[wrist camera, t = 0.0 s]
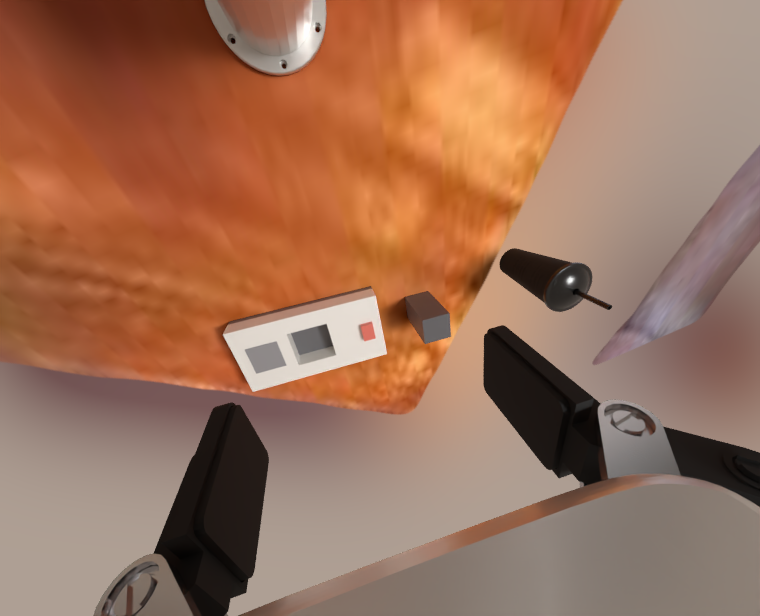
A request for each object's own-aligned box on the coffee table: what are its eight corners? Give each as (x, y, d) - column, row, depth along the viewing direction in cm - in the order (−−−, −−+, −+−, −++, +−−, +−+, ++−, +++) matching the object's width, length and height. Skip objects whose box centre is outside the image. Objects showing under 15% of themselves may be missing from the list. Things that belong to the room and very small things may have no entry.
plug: (404, 297, 52) (422, 320, 44) (428, 291, 52) (449, 313, 44) (407, 317, 54) (424, 343, 46) (430, 311, 54) (450, 336, 46)
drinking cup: (486, 258, 52) (576, 306, 34) (521, 232, 51) (631, 266, 34) (501, 287, 55) (590, 343, 38) (534, 263, 55) (640, 309, 37)
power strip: (229, 321, 46) (221, 337, 42) (370, 286, 49) (376, 297, 45) (256, 376, 52) (252, 395, 48) (382, 341, 55) (388, 356, 51)
